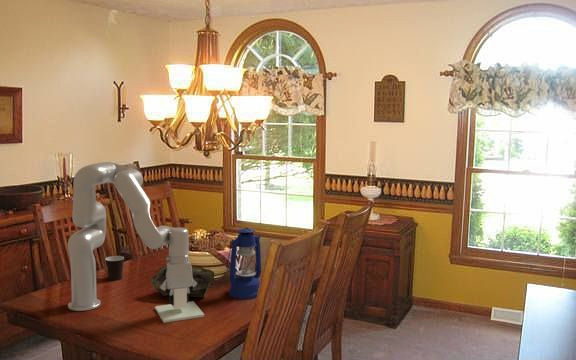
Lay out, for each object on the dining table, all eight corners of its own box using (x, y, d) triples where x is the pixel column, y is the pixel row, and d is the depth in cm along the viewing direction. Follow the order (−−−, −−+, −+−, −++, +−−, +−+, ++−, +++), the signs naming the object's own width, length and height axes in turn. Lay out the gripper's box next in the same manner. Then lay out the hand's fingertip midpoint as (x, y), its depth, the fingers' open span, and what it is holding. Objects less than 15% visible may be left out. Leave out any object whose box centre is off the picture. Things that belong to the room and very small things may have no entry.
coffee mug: (121, 281, 250) (120, 261, 249) (102, 281, 250) (102, 260, 249) (128, 274, 262) (128, 254, 260) (111, 273, 262) (111, 254, 260)
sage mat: (155, 308, 217) (155, 306, 217) (193, 303, 224) (193, 301, 223) (163, 322, 202) (163, 320, 202) (204, 316, 209) (204, 314, 209)
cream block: (171, 304, 214) (171, 285, 213) (183, 302, 216) (183, 283, 215) (174, 308, 209) (174, 289, 208) (186, 307, 211) (186, 287, 210)
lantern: (239, 302, 227) (240, 233, 223) (219, 292, 238) (220, 227, 234) (271, 293, 238) (272, 228, 234) (250, 285, 249) (251, 222, 246)
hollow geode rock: (214, 309, 231) (224, 278, 239) (207, 296, 221) (217, 264, 229) (155, 300, 237) (167, 270, 246) (146, 287, 227) (158, 257, 236)
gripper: (159, 263, 203) (159, 309, 206) (202, 259, 211) (202, 303, 213) (155, 258, 210) (155, 302, 212) (197, 254, 217) (197, 297, 220)
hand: (179, 302), depth 212 cm, fingers closed on cream block, 5 cm apart
